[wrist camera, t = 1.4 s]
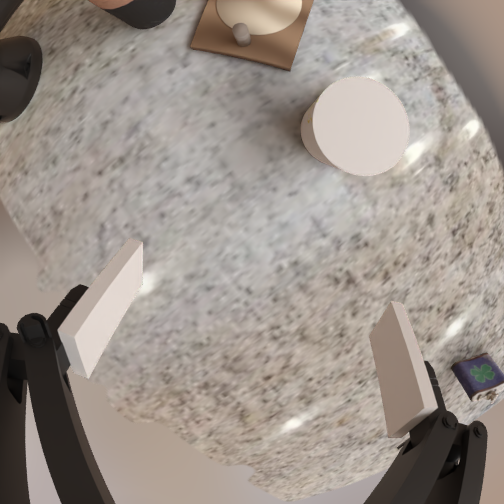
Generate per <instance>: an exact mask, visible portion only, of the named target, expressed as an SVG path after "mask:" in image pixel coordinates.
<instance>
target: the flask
mask: <svg viewBox="0 0 504 504" xmlns="http://www.w3.org/2000/svg"><path fill="white" fill-rule="evenodd" d="M451 369H452V371H453V372H454V374H455V376H456V377H457V379H458V380H459V382H460V383H461V385H462V386H463V388H464V390H465V392H466V393H467V395H468V397H469V398H470V400H471V401H473V402H475V401H480V400H483V399H486V400H489V399H491V401H494V402H495V400H496V398H497V396H499V394H497V393H499V392H500V391H502V390H504V374H503V373H502V371H501V370H500V369H499V367H498V366H497V365H496V363H495V362H494V360H493V359H492V358H491V356H490V355H489V354H488V353H483V354H482V355H479V356H474V357H472V358H470V359H466V360H462V361H457V362H456V363H455V364H453V366H452V368H451ZM494 402H491V404H492V403H494Z"/></svg>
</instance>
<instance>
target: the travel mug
mask: <svg viewBox="0 0 504 504" xmlns="http://www.w3.org/2000/svg"><path fill="white" fill-rule="evenodd" d="M88 1H90V2H91V3H93V4H95V5H96V6H98V7H100V8H101V9H103V10H105V11H107V12H108V13H110V14H112V15H114V16H115V17H117V18H119V19H120V20H122V21H124V22H126V23H127V24H129V25H131V26H133V27H135V28H138V29H148V28H152V27H155V26H157V25H159V24H161V23H162V22H163V21H165V20H166V19H167V18H168V17H169V16H170V15H171V13H172V12H173V10H174V8H175V4H176V0H88Z"/></svg>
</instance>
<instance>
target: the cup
mask: <svg viewBox="0 0 504 504" xmlns="http://www.w3.org/2000/svg"><path fill="white" fill-rule="evenodd" d="M301 137H302V141H303V143H304V145H305V147H306V149H307V150H308V152H309V153H310V154H311V155H312V156H313V157H314V158H316V159H317V160H319V161H320V162H322V163H325V164H328V165H330V166H333V167H335V168H338V169H340V170H343V171H345V172H348V173H351V174H354V175H359V176H372V175H377V174H380V173H383V172H385V171H387V170H389V169H390V168H392V167H393V166H394V165H395V164H396V163H397V162H398V161H399V160H400V159H401V157H402V156H403V154H404V152H405V150H406V148H407V145H408V141H409V121H408V117H407V114H406V111H405V109H404V107H403V105H402V103H401V101H400V100H399V99H398V97H397V96H396V95H395V94H394V93H393V92H392V91H391V90H390V89H389V88H388V87H386V86H385V85H383V84H382V83H380V82H378V81H375V80H373V79H370V78H366V77H348V78H344V79H341V80H338V81H336V82H334V83H333V84H331V85H330V86H329V87H327V88H326V89H325V90H324V91H323V92H322V94H321V95H320V96H319V97H318V98H317V99H316V101H315V102H314V103H313V104H312V105H311V106H310V107H309V109H308V110H307V111H306V113H305V114H304V116H303V119H302V122H301Z"/></svg>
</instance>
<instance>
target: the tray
mask: <svg viewBox="0 0 504 504" xmlns="http://www.w3.org/2000/svg"><path fill="white" fill-rule="evenodd" d="M313 1H314V0H208V2H207V5H206V7H205V10H204V12H203V14H202V17H201V19H200V22H199V24H198V27H197V29H196V32H195V35H194V37H193V40H192V43H191V45H190V47H191V48H192V49H193V50H199V51H206V52H211V53H217V54H222V55H227V56H232V57H237V58H241V59H246V60H250V61H254V62H258V63H262V64H266V65H270V66H274V67H277V68H281V69H284V70H288V71H290V70H291V67H292V63H293V60H294V57H295V54H296V51H297V48H298V45H299V42H300V39H301V36H302V33H303V30H304V27H305V24H306V21H307V19H308V16H309V13H310V10H311V7H312V4H313Z"/></svg>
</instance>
